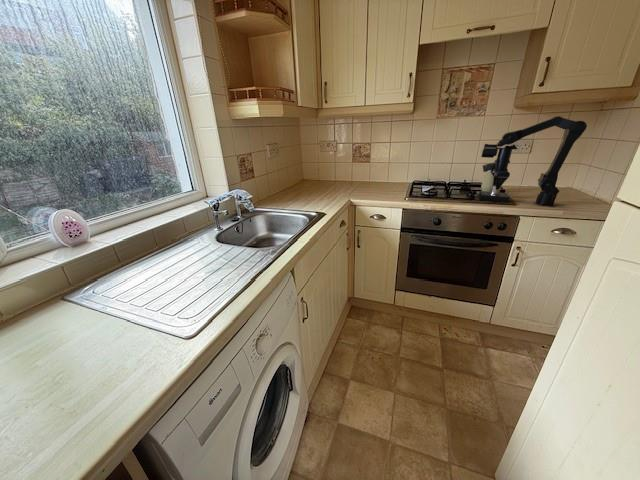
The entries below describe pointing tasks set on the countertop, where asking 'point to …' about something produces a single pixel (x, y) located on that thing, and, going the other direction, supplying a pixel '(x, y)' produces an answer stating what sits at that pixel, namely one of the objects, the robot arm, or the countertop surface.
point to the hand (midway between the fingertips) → (495, 187)
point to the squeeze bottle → (487, 182)
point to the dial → (494, 190)
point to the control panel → (494, 197)
